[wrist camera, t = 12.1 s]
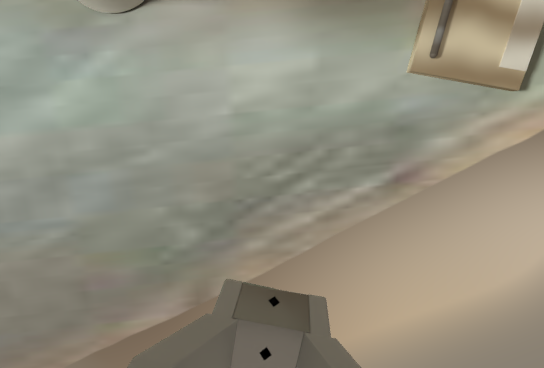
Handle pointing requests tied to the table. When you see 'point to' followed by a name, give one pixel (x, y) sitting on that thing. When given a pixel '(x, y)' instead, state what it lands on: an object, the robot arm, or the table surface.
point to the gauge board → (477, 41)
